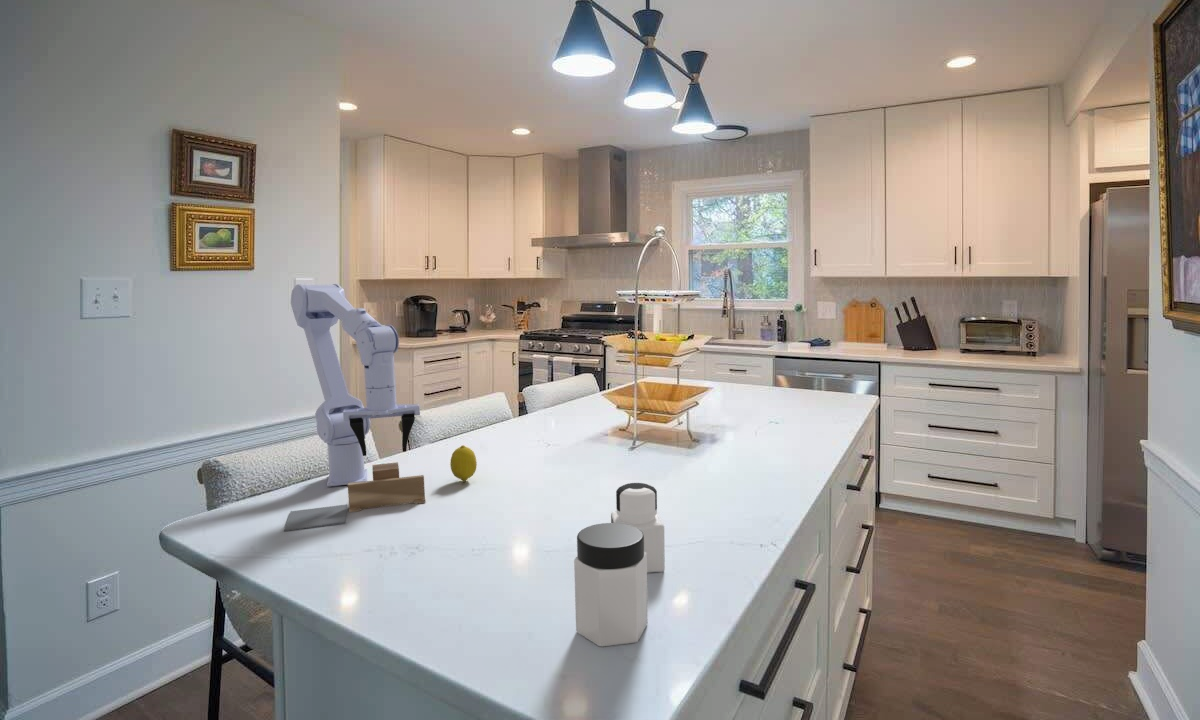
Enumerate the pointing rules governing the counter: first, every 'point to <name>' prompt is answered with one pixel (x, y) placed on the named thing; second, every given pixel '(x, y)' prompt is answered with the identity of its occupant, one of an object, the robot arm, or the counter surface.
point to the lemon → (463, 463)
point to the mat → (316, 517)
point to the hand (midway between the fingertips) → (384, 452)
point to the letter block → (385, 471)
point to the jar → (611, 584)
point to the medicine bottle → (642, 520)
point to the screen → (386, 492)
